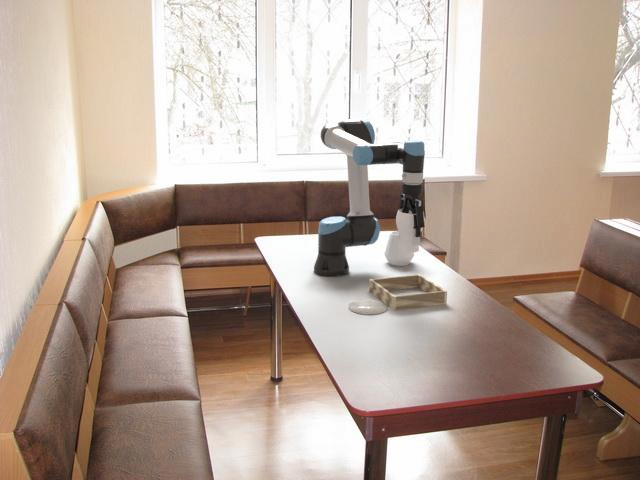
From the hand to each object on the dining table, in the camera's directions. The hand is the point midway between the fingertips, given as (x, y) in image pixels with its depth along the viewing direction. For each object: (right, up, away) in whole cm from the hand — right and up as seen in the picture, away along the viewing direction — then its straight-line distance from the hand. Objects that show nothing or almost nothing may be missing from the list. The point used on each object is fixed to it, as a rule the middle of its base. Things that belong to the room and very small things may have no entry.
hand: (409, 241), depth 250 cm
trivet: (-16, -24, -6) cm, 30 cm away
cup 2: (+2, -10, +51) cm, 52 cm away
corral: (0, -22, +5) cm, 22 cm away
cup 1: (0, -4, +1) cm, 4 cm away
